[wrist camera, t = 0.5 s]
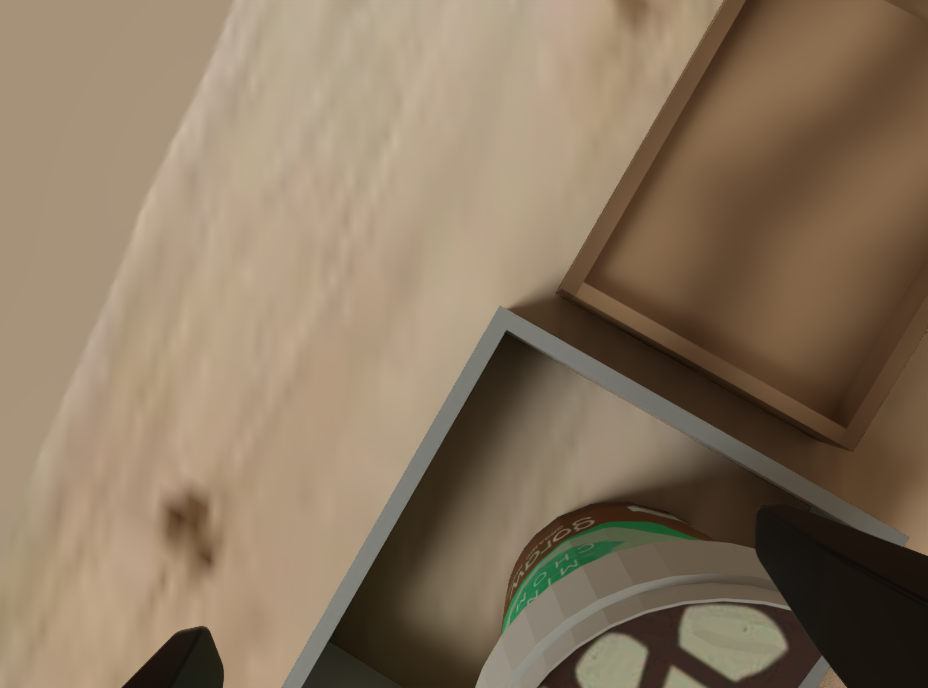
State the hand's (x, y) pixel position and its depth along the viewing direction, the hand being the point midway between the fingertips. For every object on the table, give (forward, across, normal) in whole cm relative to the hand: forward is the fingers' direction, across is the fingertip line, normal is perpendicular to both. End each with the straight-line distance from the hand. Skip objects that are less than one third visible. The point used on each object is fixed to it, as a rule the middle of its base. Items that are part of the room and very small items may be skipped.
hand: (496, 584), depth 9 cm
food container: (+11, -4, +10) cm, 15 cm away
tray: (+14, -15, -3) cm, 20 cm away
